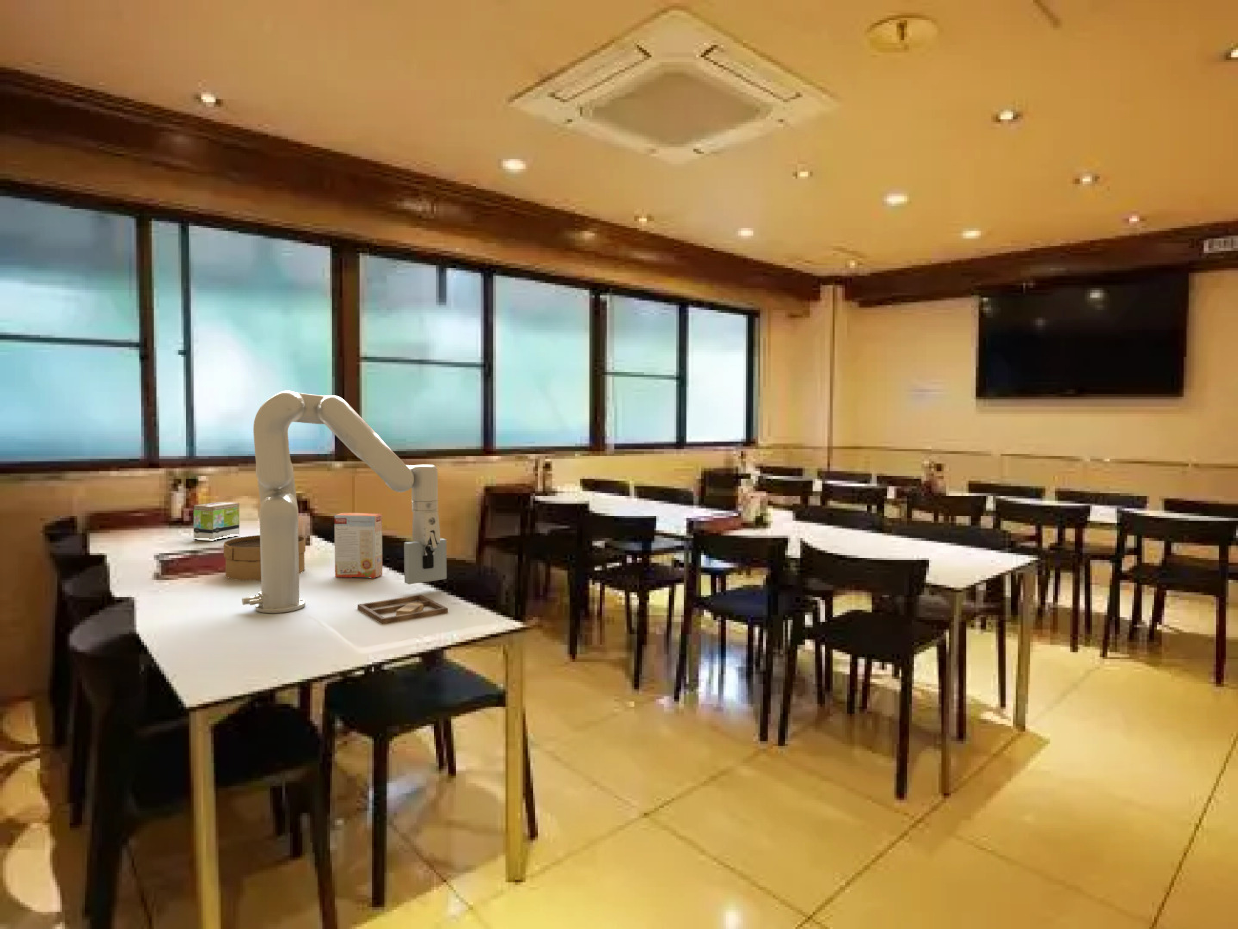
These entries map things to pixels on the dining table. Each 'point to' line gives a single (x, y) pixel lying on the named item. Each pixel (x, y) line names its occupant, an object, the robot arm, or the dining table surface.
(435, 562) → the grey panel
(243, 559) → the steamer basket
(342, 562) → the cracker box
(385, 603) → the frame
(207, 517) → the tea box
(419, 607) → the upper offcut
